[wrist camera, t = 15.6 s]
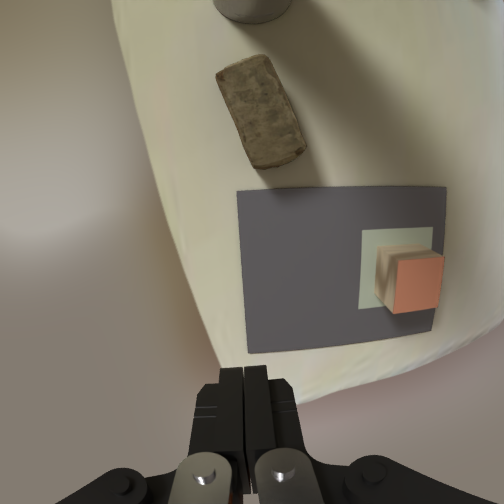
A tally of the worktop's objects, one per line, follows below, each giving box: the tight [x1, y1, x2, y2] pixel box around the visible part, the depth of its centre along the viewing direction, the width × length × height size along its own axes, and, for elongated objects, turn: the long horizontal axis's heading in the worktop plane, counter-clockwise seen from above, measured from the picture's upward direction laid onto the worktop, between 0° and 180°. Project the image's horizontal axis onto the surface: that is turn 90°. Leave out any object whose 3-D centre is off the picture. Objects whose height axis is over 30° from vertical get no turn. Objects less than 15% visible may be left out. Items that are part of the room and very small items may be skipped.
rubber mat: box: [237, 186, 446, 353], centre depth 37 cm, size 20×26×1 cm
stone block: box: [215, 54, 307, 169], centre depth 30 cm, size 6×12×5 cm, turn 23°
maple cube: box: [374, 243, 445, 314], centre depth 34 cm, size 6×6×6 cm
